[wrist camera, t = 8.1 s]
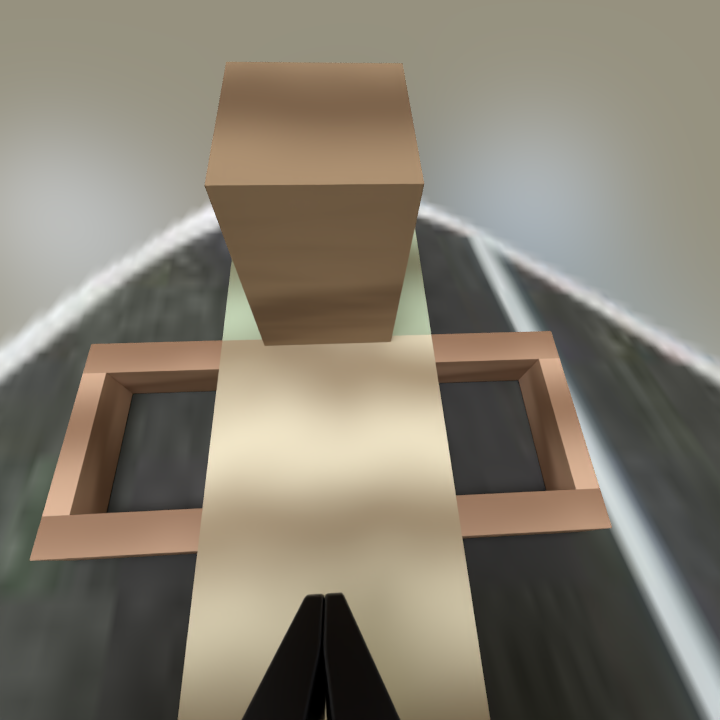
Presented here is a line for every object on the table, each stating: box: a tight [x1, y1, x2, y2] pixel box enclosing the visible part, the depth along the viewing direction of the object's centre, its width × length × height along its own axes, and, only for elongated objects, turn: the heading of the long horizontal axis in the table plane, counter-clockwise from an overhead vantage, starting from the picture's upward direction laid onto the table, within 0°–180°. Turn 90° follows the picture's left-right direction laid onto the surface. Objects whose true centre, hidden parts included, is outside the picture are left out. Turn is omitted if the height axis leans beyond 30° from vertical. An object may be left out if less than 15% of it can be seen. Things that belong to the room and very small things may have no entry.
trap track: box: [30, 230, 612, 720], centre depth 18 cm, size 26×22×2 cm
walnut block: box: [205, 62, 424, 346], centre depth 16 cm, size 6×6×9 cm
